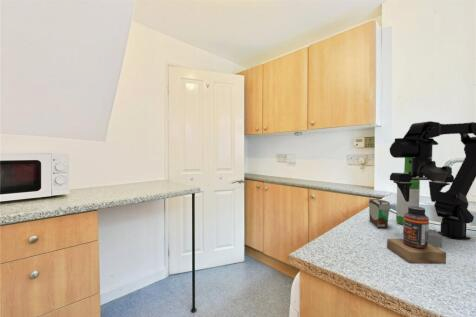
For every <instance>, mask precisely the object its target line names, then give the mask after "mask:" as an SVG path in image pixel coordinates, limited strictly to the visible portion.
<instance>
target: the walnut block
mask: <svg viewBox="0 0 476 317" xmlns="http://www.w3.org/2000/svg"><path fill="white" fill-rule="evenodd" d="M386 249H388V250H389V251H391V252H392V253H394V254H395V255H396V256H398V257H400V258H401V259H403V260H405V261H406V262H408V263H409V264H447V252H446V251H444V250H441V248H437V247H434V246H432V245H430V244H428V246H427V247H426V248H414V247H411V246H408V245H406V244H405V243H404V242H403V238H387V239H386Z"/></svg>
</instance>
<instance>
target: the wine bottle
mask: <svg viewBox="0 0 476 317" xmlns="http://www.w3.org/2000/svg"><path fill="white" fill-rule="evenodd" d="M409 160H412V158H404V168H403V169H404V171H403V173H406V174H408V173H409V172H411V163H409ZM416 177H419V176H416ZM409 183H412V185H411V186H410V192H409V202H406V201H405V199H404V197H403V195H402V193H401V191H400V189H399V187H398V186H397V185H396V207H395V208H396V212H395V215H396V216H395V222H396V223H398V224H399V225H402V226H404V215H405V214H406V213H408V207H409V206H417V207H420V195H421V194H420V192H421V191H420V189H421V188H420V186H421V180H411V181H410V182H409Z"/></svg>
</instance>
